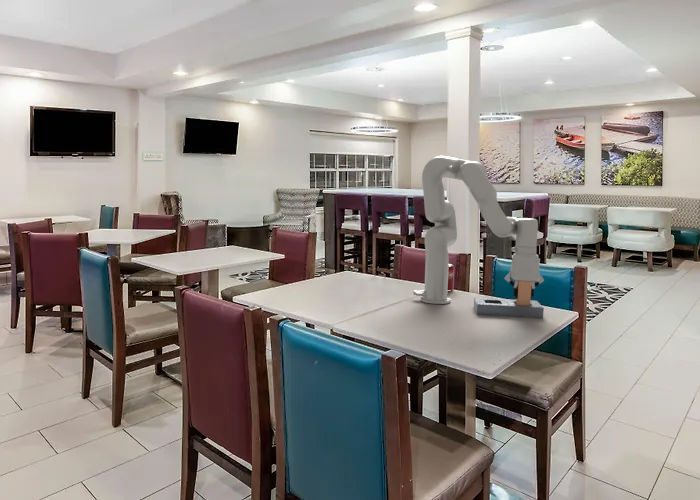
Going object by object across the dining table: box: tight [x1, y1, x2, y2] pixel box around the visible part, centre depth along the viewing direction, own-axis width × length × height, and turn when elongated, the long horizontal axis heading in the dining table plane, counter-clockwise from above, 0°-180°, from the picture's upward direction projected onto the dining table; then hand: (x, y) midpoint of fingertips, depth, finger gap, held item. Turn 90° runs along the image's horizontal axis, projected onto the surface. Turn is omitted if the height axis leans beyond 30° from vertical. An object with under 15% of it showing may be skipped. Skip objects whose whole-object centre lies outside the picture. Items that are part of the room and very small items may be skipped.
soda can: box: [448, 263, 455, 291], centre depth 236 cm, size 7×7×12 cm
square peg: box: [515, 281, 532, 305], centre depth 194 cm, size 5×5×12 cm
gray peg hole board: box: [473, 297, 545, 319], centre depth 195 cm, size 24×12×4 cm, turn 82°
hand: (523, 297), depth 194 cm, fingers closed on square peg, 4 cm apart
